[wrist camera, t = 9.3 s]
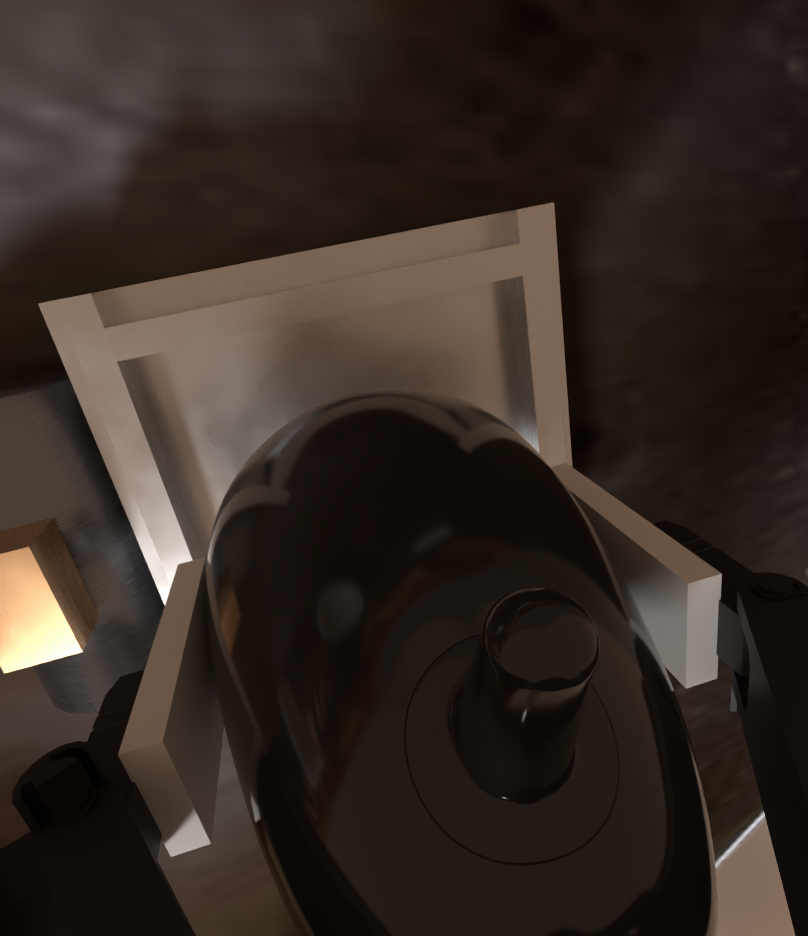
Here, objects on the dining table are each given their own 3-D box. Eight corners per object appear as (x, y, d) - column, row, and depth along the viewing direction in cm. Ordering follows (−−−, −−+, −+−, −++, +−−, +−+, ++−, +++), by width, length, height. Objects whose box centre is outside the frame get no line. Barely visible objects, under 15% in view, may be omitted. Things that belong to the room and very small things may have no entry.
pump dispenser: (502, 336, 19) (1168, 563, 5) (513, 598, 23) (900, 1149, 9) (185, 382, 17) (-213, 935, 3) (255, 656, 21) (217, 1450, 7)
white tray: (536, 551, 30) (618, 645, 23) (97, 674, 28) (33, 826, 20) (500, 212, 24) (600, 193, 17) (-79, 326, 21) (-268, 363, 14)
